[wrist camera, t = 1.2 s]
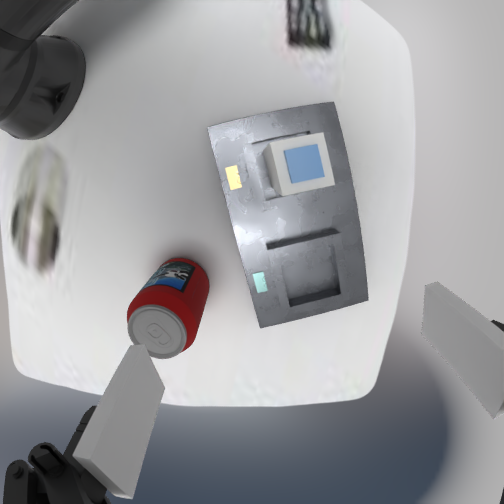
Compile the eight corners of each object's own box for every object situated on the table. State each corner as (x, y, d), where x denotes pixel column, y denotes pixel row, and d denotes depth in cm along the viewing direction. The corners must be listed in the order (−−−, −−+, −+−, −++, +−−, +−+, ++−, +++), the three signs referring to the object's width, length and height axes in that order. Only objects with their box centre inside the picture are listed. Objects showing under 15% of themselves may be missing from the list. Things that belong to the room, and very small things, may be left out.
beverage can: (183, 244, 33) (153, 283, 22) (221, 286, 35) (210, 341, 23) (146, 278, 34) (106, 326, 23) (183, 316, 36) (159, 375, 24)
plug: (262, 151, 29) (270, 141, 19) (299, 143, 29) (325, 131, 19) (271, 187, 30) (283, 197, 20) (307, 179, 30) (337, 185, 20)
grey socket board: (208, 129, 30) (204, 124, 26) (330, 104, 29) (339, 97, 26) (259, 322, 36) (260, 336, 33) (364, 295, 36) (374, 307, 32)
